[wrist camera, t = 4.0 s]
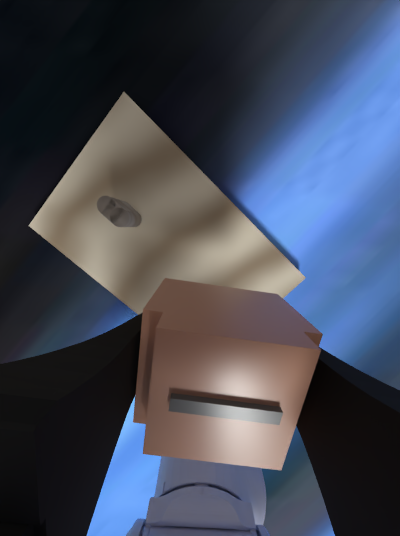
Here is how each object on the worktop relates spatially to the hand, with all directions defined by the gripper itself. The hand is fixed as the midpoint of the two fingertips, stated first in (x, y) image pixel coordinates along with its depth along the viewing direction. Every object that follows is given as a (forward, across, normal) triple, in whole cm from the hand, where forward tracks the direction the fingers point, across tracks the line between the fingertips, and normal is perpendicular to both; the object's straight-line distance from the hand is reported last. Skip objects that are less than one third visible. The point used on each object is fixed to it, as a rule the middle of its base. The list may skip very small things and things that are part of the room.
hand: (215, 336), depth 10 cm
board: (+9, +4, -3) cm, 11 cm away
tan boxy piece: (+1, 0, 0) cm, 1 cm away
